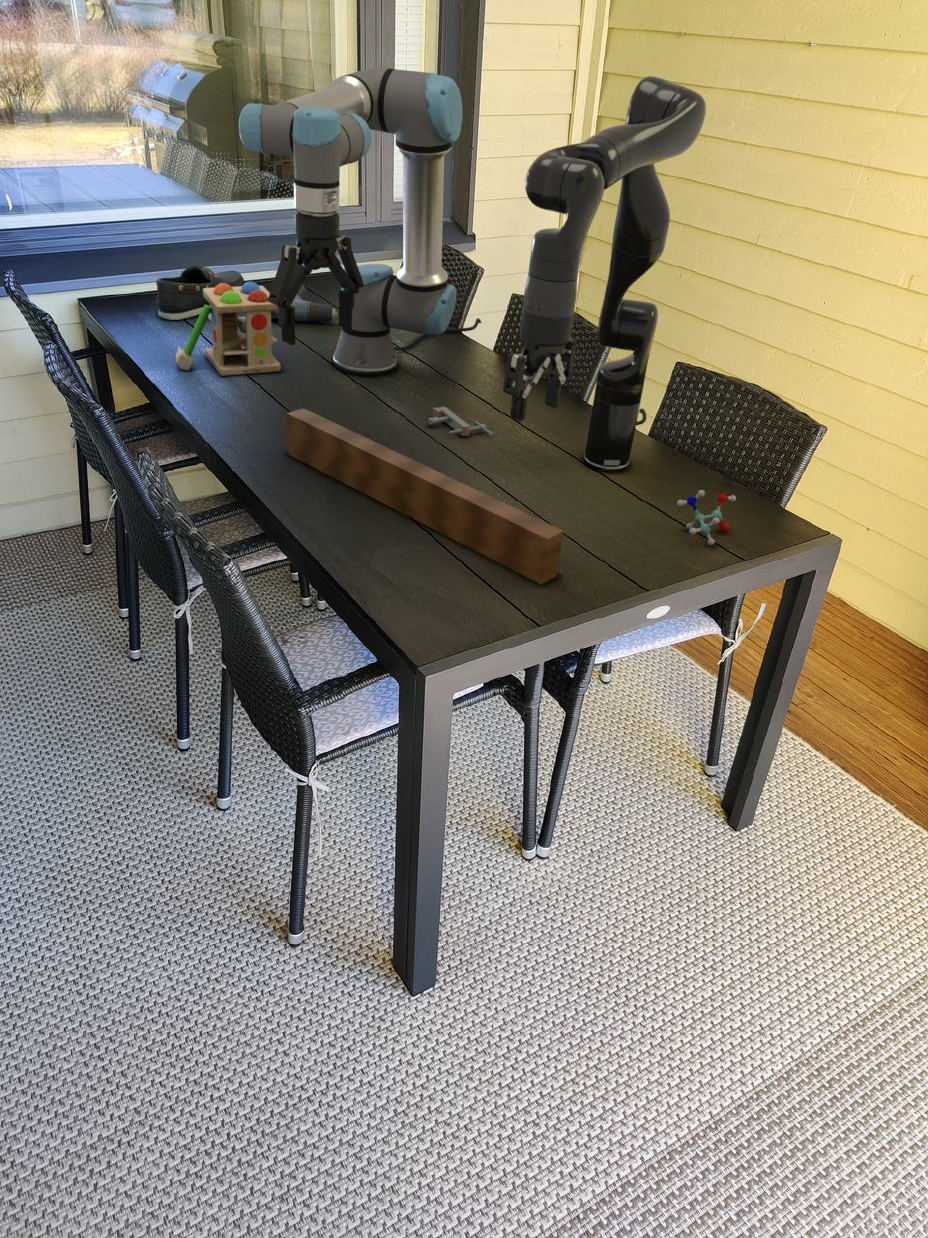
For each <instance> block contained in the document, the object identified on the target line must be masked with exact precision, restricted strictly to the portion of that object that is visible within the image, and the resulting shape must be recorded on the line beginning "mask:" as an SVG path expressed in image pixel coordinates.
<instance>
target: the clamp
mask: <svg viewBox="0 0 928 1238" xmlns="http://www.w3.org/2000/svg"><path fill="white" fill-rule="evenodd" d="M428 423H429V425H430V426H431V425H438V424H439V425H440V423H445V424H447V425H448V426H449V427H451V428H452V430H449V431H448V434H459V435H461V436H462V437H468V436H470V432H474V431H479V432H481V431H482V432H483V431H485V433H487V434H489V436H490V437H491V438H493V437H494V436H495V432H492V431H490V430H489V429H487V425H486V424H485V423H479V421H478V420H474V421H473V425H474V426H471V425H470V424H468V422H466V421H464V419H462V418H460V417H459V416H458V415H457V414H456V413H454V412H453V411H451V410H450V409H449V408H448V407H447V406H439V407H432V417H428Z"/></svg>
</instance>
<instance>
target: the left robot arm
mask: <svg viewBox="0 0 928 1238" xmlns="http://www.w3.org/2000/svg"><path fill="white" fill-rule="evenodd" d="M463 111H464V110H463V101H462V95H461V92H460V88H459V87H458V85H457V83H456V82H455V80H454V79H452V78H451V77H450V76H446V75H440V74H437V73H434V72H426V71H418V70H417V71H415V70H406V69H399V68H398V69H396V68H391V67H373V68H367V69H362V70H357V71H354V72H351V73H348V74H345V75H342V76H338V77H337V78H335V79H334V80H333V81H332V82H331V83H330V84H329V86H328V87H324V88H321V89H318V90H315V91H312V92H309V93H306V94H303V95H301V96H300V95H299V96H297V97H294V98H292V99H289V100H286V101H283V102H279V103H275V104H264V103H262V102H260V103H251V102H250V103H247V104H246V105H245V106H244V107H243V108H242V110H241V112H240V114H239V119H238V130H239V132H238V134H239V138H240V141H241V142H242V145H243V147H245V148H246V149H248V150H249V151H254V152H258V153H261V154H271V155H278V156H283V157H289V158H290V157H291V158H293V173H294V177H293V196H294V197H293V207H294V208H295V209H296V211H295V212H294V233H295V235H296V238H297V241H296V245H289V244H286V243H285V244H283V245H282V246H281V256H280V261H279V264H278V266H277V270H276V273H275V276H274V279H273V282H272V285H271V289H270V291H269V293H270V294H269V297H268V301H269V302H270V303H272V304H275V305H277V306H278V312H279V319H278V323H279V325H281V342H284V343H285V344H289V345H291V346H294V345H296V321H295V307H292V306H291V304H292V302H293V301H294V299H295V297H296V295H297V293H298V291H299V290H300V288H301V286H302V284H303V285H304V283H305V281H306V279H307V277H308V276H309V275H311V274H312V273H313V271H318V270H320V269H329V271H330V272H331V274H332V276H333V277H334V278H335V279H336V281H337V283H338V284H339V285H340V286H341V287H340V290H338V327H340V329H341V330H340V336H339V338H338V341H337V344H336V348H335V350H334V352H333V361H332V362H333V363H332V364H333V366H334V367H335V368H337V369H338V370H339V371H342V372H344V373H347V374H352V375H356V376H380V375H381V376H382V375H386V374H389V373H391V372H393V371H395V369H396V368H397V361H398V359H397V354H396V352H395V351H405V350H407V349H410V348H411V347H412V346H414V345H415V344H416V343H417V342H419V341H420V340H423V339H424V338H426V337H429V336H434V337H437V336H441V335H443V334H444V333H456V332H457V333H460V332H470V331H473V330H475V329H476V328H478V325H479V324H481V323H482V320H481V318H478V317H477V318H476V319H475V322H474V325H472V326H469V327H459V328H458V327H455V328H454V327H451V328H450V327H449V325H450V323H451V320H452V317H453V315H454V311H455V307H456V302H457V289H456V287H455V285H452V284H449V274H448V272H447V271H446V270H445V269H444V268H443V266H442V264H443V263H442V261H443V260H442V259H443V257H442V255H443V222H444V221H443V219H444V217H443V215H444V179H445V178H444V177H445V175H444V172H445V157H446V155H447V154H448V153H449V152H450V151H451V150H452V145H453V143H454V142H456V141H457V140H458V139H459V137H460V135H461V131H462V124H463V117H464V115H463ZM371 130H372V131H377V132H383V133H388V134H393V135H395V148H396V149H397V150H398V151H399V152H400V153H401V154H402V210H403V211H402V215H403V216H402V242H403V243H402V255H403V257H402V261H403V262H402V267H400V268H399V269H398V270H397V272H396V274H395V275H394V273H395V272H394V269H393V267H392V266H391V265H388V264H385V263H384V264H383V263H366V264H357V260H356V258H355V255H354V252H353V249H352V248H353V247H352V238H351V237H349V236H346V235H343V234H340V214H338V211H339V210H340V185H341V184H340V177H341V176H340V174H341V167H344V166H346V165H351V164H354V163H356V162H359V160H360V159H362V158H364V157H365V156H366V155H367V154H368V152H369V150H370V148H371V145H372V132H371ZM336 253H338V255H339V257H340V260H341V261H340V260H339V258H338V257H337V255H336ZM342 265H343V266H342ZM285 299H286V300H285ZM391 329H396V330H399V331H400V330H401V331H406V332H410V333H416V334H421V335H419V336H417V337H415V338H414V339H412V340H411V341H410V342H409V343H408V344H406V345H403V346H394V343H393V341H392V337H391V336H392V335H391Z"/></svg>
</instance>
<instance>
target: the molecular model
mask: <svg viewBox="0 0 928 1238" xmlns="http://www.w3.org/2000/svg"><path fill="white" fill-rule="evenodd" d="M705 495H706V492H705V490H703V489H699V490H698V492H697V494H695V495H691V496H689V497H687V499H686V500H685V499H684V500H683V499H678V500H677V502H676V505H677V506H678V507H683V506H684V505H686V504H687V505H689V506H692V509H693V510H694V513H695V515H694V520H693V521H691V522H688V523H687V524H686V526H685V528H686V530H689V531H688V532H689V534H690V535H693V536H694V535H696V533H701V534H703V535H705V536H706V538H707V544H708V545H709V546H713V545H714V544H715V542H716V541H715V539H714V538H712V536H711V534H710V532H711V527H713V525H719V527H720V531H721V532H723V533H727V532H728V531H729V530H730V525H729V524H728V523H726V522H725V521H724V519H723V518H722V512H721V508H722V505H723V503H725V502H727V501H730V502H732V503H734V502H736V500H737V497H736V496H735V495H733V494H732V495H730V496H727V495H726V494H724V493H719V494H718V496H717V502H718V504H717V506H716V509H715V510H713V511H712V512H711V514H706V515H704V514H703V513H700V511H699V510H698V507H697V505H696V504H697V502H698V501H697V500H698V499H699V498H703V497H704V496H705ZM707 519H712V520H711V521H710V522H709V523H705V520H707ZM696 524H700V527H699V528H696V527H694V525H696Z"/></svg>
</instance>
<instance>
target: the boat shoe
mask: <svg viewBox="0 0 928 1238" xmlns="http://www.w3.org/2000/svg"><path fill="white" fill-rule="evenodd" d="M155 281H156V282H155V284H156V289H157V291H156V299H157V300H155V304H156V305H157V306H158V308H157V310H158V311H157V312H158V316H159V317H160V318H162V319H165V320H170V321H173V320H174V321H176V320H177V321H178V320H184V319H188V318H191V317H195V316H198V315H199V316H200V314H201V311H202V309H203V307H204V305H208V306H210V307H211V305H210V304H209V302H208V301H207V300H206V299H205V297H204V296H203V289H204V288H215V287H216V286H217V285H218V284H221V283H226V284H228V285H230V286H231V287H242V286H243V285H244V284H245V283H246V282H245V279H244V276H242V274H241V272H239V271H238V270H226V271H220V272H216V273H215V272H214V271H212V270H211V269H210V268H207V267H205V266H202V265H198V264H192V265H190V266H188V267H186V268H185V269H184V270H183V271H182V272H181V273H180V275H178V276H173V277H172V276H171V277H159V278H157V279H156V280H155Z"/></svg>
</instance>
